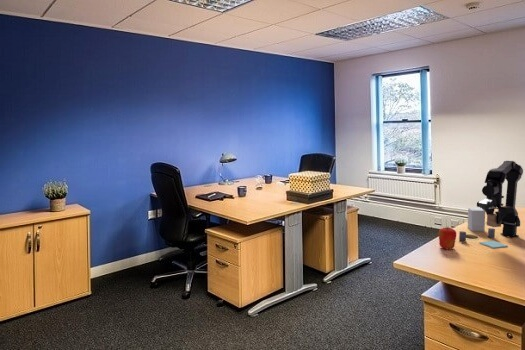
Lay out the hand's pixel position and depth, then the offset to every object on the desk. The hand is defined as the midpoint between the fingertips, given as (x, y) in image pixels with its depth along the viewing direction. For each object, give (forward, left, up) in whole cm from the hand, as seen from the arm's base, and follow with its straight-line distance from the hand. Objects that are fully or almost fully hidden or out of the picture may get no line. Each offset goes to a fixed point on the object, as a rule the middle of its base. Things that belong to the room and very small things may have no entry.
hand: (494, 222), depth 197 cm
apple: (+26, -3, -12) cm, 29 cm away
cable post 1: (+10, -11, -12) cm, 19 cm away
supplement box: (-14, -27, -12) cm, 33 cm away
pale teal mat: (0, 0, -12) cm, 12 cm away
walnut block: (0, 0, -2) cm, 2 cm away
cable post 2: (-9, -11, -12) cm, 19 cm away
